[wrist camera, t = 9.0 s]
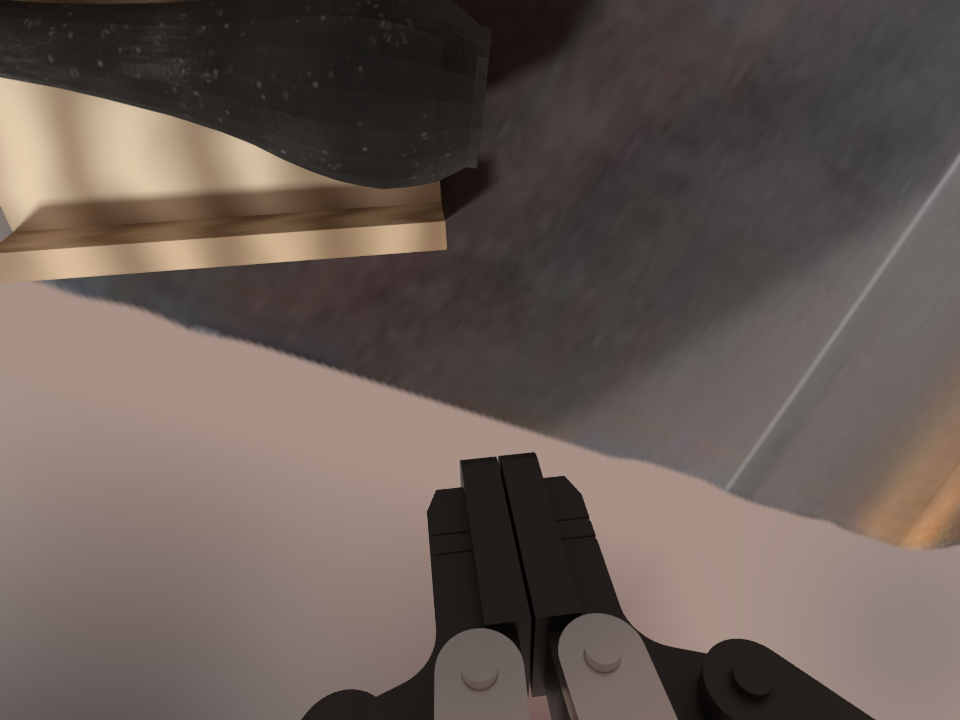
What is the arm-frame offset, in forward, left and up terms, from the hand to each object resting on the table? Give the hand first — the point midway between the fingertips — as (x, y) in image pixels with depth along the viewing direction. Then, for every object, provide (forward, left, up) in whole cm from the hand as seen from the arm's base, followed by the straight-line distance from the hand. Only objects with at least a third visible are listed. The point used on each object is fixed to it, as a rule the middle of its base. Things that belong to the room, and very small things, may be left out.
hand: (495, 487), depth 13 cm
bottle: (-4, -1, -27) cm, 28 cm away
